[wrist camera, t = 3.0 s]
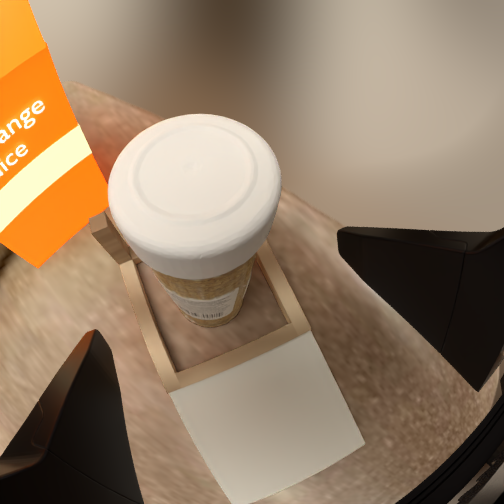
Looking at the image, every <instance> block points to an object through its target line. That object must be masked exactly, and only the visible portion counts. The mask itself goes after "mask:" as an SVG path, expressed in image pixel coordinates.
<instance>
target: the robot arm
mask: <svg viewBox="0 0 504 504" xmlns="http://www.w3.org/2000/svg"><path fill="white" fill-rule="evenodd" d="M337 241H338V251H339V254H340V255H341V257H342V258H343V259H344V260H345V261H346V262H347V263H348V264H349V266H350V267H351V268H352V269H353V270H354V271H355V272H356V273H357V274H358V275H359V277H360V278H361V279H362V280H363V281H364V282H365V283H366V284H367V285H368V286H369V287H371V288H372V289H373V290H374V291H375V292H376V293H377V294H378V295H379V296H380V297H382V298H383V299H384V300H385V301H386V302H387V303H388V304H389V305H390V306H391V307H392V308H393V309H394V310H396V311H397V312H398V313H399V314H400V315H401V316H402V317H403V318H404V319H405V320H406V321H407V322H408V323H409V324H410V325H411V326H412V327H413V328H415V329H416V330H417V331H418V332H419V333H420V334H421V335H422V336H423V337H424V338H425V339H426V340H427V341H428V342H429V343H430V344H431V345H432V346H433V347H434V348H435V349H436V350H437V351H438V352H439V353H441V355H442V356H443V357H444V358H445V359H446V360H447V361H448V362H449V363H450V364H451V365H452V366H453V367H454V368H455V369H456V371H457V372H458V373H459V374H460V375H461V376H462V377H463V378H464V379H465V380H466V381H467V382H468V383H469V384H470V385H471V386H472V387H473V388H474V389H475V390H476V391H477V392H479V391H480V390H481V388H482V387H483V386H484V385H485V383H486V382H487V381H488V379H489V378H490V377H491V376H492V374H493V373H494V371H495V370H496V369H497V367H498V366H499V365H500V363H501V362H502V360H503V359H504V228H502V229H500V230H497V231H493V232H457V231H435V230H430V231H429V230H416V229H397V228H374V227H344V228H342V229H339V230H338V232H337ZM500 383H501V389H502V396H501V397H500V398H499V400H498V401H497V403H496V404H495V405H494V407H493V408H492V409H491V410H490V412H489V413H488V414H487V416H486V417H485V418H484V419H483V421H482V422H481V423H480V424H479V425H478V427H477V428H476V429H475V430H474V431H473V432H472V434H471V435H470V436H469V437H468V438H467V439H466V440H465V441H464V443H463V444H462V445H461V446H460V447H459V448H458V449H457V450H456V451H455V452H454V453H453V454H452V455H451V456H450V457H449V458H448V459H447V460H446V461H445V462H444V463H443V464H442V465H441V466H440V467H439V468H438V469H437V470H435V471H434V472H433V473H432V474H431V475H430V476H429V477H428V478H426V479H425V480H424V481H423V482H422V483H421V484H419V485H418V486H417V487H416V488H415V489H413V490H412V491H411V492H410V493H408V494H407V495H406V496H405V497H403V498H402V499H401V500H399V501H398V502H397V503H395V504H447V503H448V502H449V501H451V500H452V499H453V497H455V495H456V494H458V493H459V492H460V491H461V490H462V489H463V488H464V487H465V485H466V484H467V483H468V482H469V481H470V480H471V479H472V478H473V477H474V476H475V475H476V474H477V473H478V471H479V470H480V469H481V468H482V467H483V466H484V464H485V463H487V464H489V466H490V468H489V469H488V470H487V471H486V472H484V473H483V474H482V475H481V476H480V477H479V478H478V479H477V480H476V482H477V484H476V485H475V486H474V487H472V488H471V489H470V490H469V491H467V492H466V493H465V494H464V495H462V496H461V497H460V498H459V499H458V501H459V503H457V504H504V375H503V376H502V378H501V380H500ZM0 504H144V502H143V498H142V495H141V491H140V488H139V484H138V480H137V476H136V472H135V468H134V464H133V460H132V455H131V451H130V446H129V441H128V436H127V430H126V424H125V419H124V412H123V406H122V398H121V392H120V387H119V382H118V378H117V374H116V369H115V364H114V360H113V355H112V351H111V349H110V347H109V345H108V344H107V342H106V341H105V339H104V338H103V336H102V335H101V333H100V332H99V331H98V330H97V329H94V330H92V331H89V332H87V333H86V334H85V335H84V336H83V338H82V339H81V340H80V342H79V343H78V344H77V346H76V347H75V348H74V350H73V351H72V353H71V354H70V355H69V357H68V358H67V359H66V361H65V362H64V364H63V365H62V366H61V368H60V369H59V371H58V372H57V374H56V375H55V376H54V378H53V379H52V381H51V382H50V384H49V385H48V387H47V388H46V390H45V391H44V393H43V394H42V396H41V397H40V399H39V401H38V402H37V403H36V405H35V407H34V408H33V410H32V411H31V413H30V414H29V416H28V417H27V419H26V420H25V422H24V423H23V425H22V426H21V428H20V429H19V430H18V432H17V433H16V435H15V436H14V438H13V439H12V440H11V442H10V443H9V445H8V446H7V448H6V449H5V451H4V452H3V454H2V455H1V456H0Z"/></svg>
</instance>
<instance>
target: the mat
mask: <svg viewBox="0 0 504 504" xmlns="http://www.w3.org/2000/svg"><path fill="white" fill-rule="evenodd" d="M169 395H170V397H171V399H172V401H173V403H174V405H175V407H176V409H177V411H178V413H179V415H180V417H181V419H182V421H183V423H184V425H185V427H186V429H187V431H188V433H189V434H190V436H191V438H192V440H193V442H194V444H195V445H196V447H197V449H198V451H199V453H200V454H201V456H202V458H203V459H204V461H205V463H206V464H207V466H208V468H209V469H210V471H211V473H212V474H213V476H214V478H215V479H216V481H217V482H218V484H219V485H220V487H221V489H222V490H223V492H224V493H225V495H226V496H227V498H228V499H229V501H230V502H231V503H232V504H250V503H253V502H256V501H258V500H261V499H263V498H266V497H268V496H271V495H273V494H275V493H277V492H280V491H282V490H284V489H286V488H289V487H291V486H293V485H295V484H297V483H299V482H301V481H303V480H305V479H307V478H309V477H311V476H313V475H315V474H316V473H318V472H320V471H322V470H324V469H325V468H327V467H329V466H331V465H332V464H334V463H336V462H338V461H339V460H341V459H343V458H344V457H346V456H347V455H349V454H351V453H352V452H354V451H355V450H357V449H358V448H360V447H361V446H363V445H364V444H365V442H364V439H363V437H362V435H361V433H360V431H359V429H358V427H357V425H356V423H355V420H354V418H353V416H352V414H351V412H350V410H349V408H348V406H347V404H346V402H345V400H344V397H343V395H342V393H341V391H340V389H339V387H338V385H337V383H336V381H335V379H334V377H333V375H332V373H331V371H330V369H329V367H328V365H327V363H326V361H325V358H324V356H323V354H322V352H321V350H320V348H319V346H318V344H317V342H316V340H315V338H314V336H313V334H312V332H311V330H310V331H308V332H306V333H304V334H302V335H300V336H298V337H296V338H294V339H292V340H290V341H288V342H286V343H284V344H282V345H280V346H278V347H276V348H274V349H272V350H270V351H268V352H266V353H263V354H261V355H259V356H257V357H255V358H253V359H251V360H248V361H246V362H244V363H242V364H239V365H237V366H235V367H233V368H230V369H228V370H226V371H223V372H221V373H219V374H216V375H214V376H211V377H209V378H206V379H204V380H201V381H199V382H196V383H194V384H191V385H189V386H186V387H184V388H181V389H178V390H176V391H173V392H170V393H169Z"/></svg>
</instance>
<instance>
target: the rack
mask: <svg viewBox="0 0 504 504" xmlns="http://www.w3.org/2000/svg"><path fill="white" fill-rule="evenodd" d="M88 219H89V224H90V229H91V234H92V235H93V236H94V237H95V238H96V240H97V241H98V242H99V243H100V244H101V245H102V246H103V248H104V249H105V250H106V251H107V252H108V253H109V254H110V255H111V256H112V258H113V259H114V260H115V261H116V262H117V263H118V264H119V266H120V269H121V273H122V276H123V279H124V282H125V286H126V289H127V292H128V295H129V298H130V301H131V304H132V307H133V310H134V313H135V316H136V319H137V321H138V324H139V327H140V330H141V332H142V335H143V337H144V340H145V343H146V345H147V348H148V350H149V353H150V355H151V358H152V360H153V362H154V365H155V367H156V370H157V372H158V374H159V377H160V379H161V381H162V383H163V385H164V388H165V390H166V392H167V393H170V392H173V391H176V390H178V389H181V388H184V387H186V386H189V385H191V384H194V383H196V382H199V381H201V380H204V379H206V378H209V377H211V376H214V375H216V374H219V373H221V372H223V371H226V370H228V369H230V368H233V367H235V366H237V365H239V364H242V363H244V362H246V361H248V360H251V359H253V358H255V357H257V356H259V355H261V354H263V353H266V352H268V351H270V350H272V349H274V348H276V347H278V346H280V345H282V344H284V343H286V342H288V341H290V340H292V339H294V338H296V337H298V336H300V335H302V334H304V333H306V332H308V331H310V330H312V329H311V327H310V325H309V323H308V321H307V319H306V317H305V315H304V313H303V311H302V309H301V307H300V305H299V303H298V301H297V299H296V297H295V295H294V293H293V291H292V289H291V287H290V285H289V283H288V281H287V279H286V277H285V275H284V273H283V271H282V269H281V267H280V265H279V263H278V261H277V259H276V258H275V256H274V254H273V252H272V250H271V248H270V246H269V244H268V242H267V240H265V241H264V243H263V244H262V246H261V247H260V248H259V249H258V251H257V252H256V256H255V258H256V260H257V262H258V264H259V266H260V268H261V270H262V272H263V274H264V276H265V279H266V281H267V283H268V285H269V287H270V289H271V291H272V293H273V295H274V297H275V299H276V301H277V303H278V305H279V307H280V309H281V311H282V313H283V315H284V317H285V319H286V321H287V323H288V325H286V326H284V327H281V328H279V329H277V330H275V331H273V332H271V333H269V334H267V335H265V336H262V337H260V338H258V339H256V340H254V341H252V342H249V343H247V344H245V345H243V346H240V347H238V348H236V349H234V350H231V351H229V352H227V353H224V354H222V355H220V356H217V357H215V358H213V359H210V360H208V361H205V362H203V363H200V364H198V365H196V366H193V367H190V368H188V369H185V370H183V371H180V372H178V373H177V371H176V369H175V366H174V364H173V362H172V360H171V357H170V355H169V353H168V350H167V348H166V345H165V343H164V340H163V338H162V336H161V333H160V331H159V328H158V325H157V323H156V320H155V318H154V315H153V312H152V310H151V307H150V304H149V301H148V299H147V296H146V293H145V290H144V287H143V284H142V281H141V278H140V275H139V272H138V269H137V266H136V264H138V263H141V262H143V261H142V260H141V259H140V258H139V257H138V256H137V255H136V254H135V252H134V251H133V250H132V248H131V247H130V246H129V247H128V246H127V244H126V243H125V241H124V240H123V238H122V237H121V236H120V234H119V233H118V231H117V230H116V228H115V227H114V225H113V224H112V222H111V221H110V219H109V218H108V216H107V215H106V213H105V212H102V213H99V214H97V215H95V216H93V217H90V218H88Z"/></svg>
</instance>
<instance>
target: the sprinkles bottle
mask: <svg viewBox="0 0 504 504" xmlns="http://www.w3.org/2000/svg"><path fill="white" fill-rule="evenodd" d="M281 187H282V186H281V171H280V167H279V164H278V161H277V159H276V156H275V154H274V153H273V151H272V149H271V148H270V146H269V145H268V144H267V142H266V141H265V140H264V139H263V138H262V137H261V136H260V135H258V134H257V133H256V132H254V131H253V130H252V129H251V128H249V127H247V126H245V125H244V124H242V123H239V122H237V121H235V120H232V119H229V118H226V117H222V116H216V115H209V114H189V115H183V116H177V117H174V118H170V119H167V120H164V121H161V122H159V123H157V124H154V125H153V126H151V127H149V128H147V129H146V130H144V131H142V132H141V133H140V134H138V135H137V136H136V137H135V138H134V139H132V140H131V141H130V142H129V144H128V145H127V146H126V147H125V148H124V149H123V150H122V152H121V153H120V155H119V156H118V158H117V160H116V162H115V163H114V166H113V168H112V171H111V174H110V177H109V182H108V202H109V207H110V211H111V214H112V217H113V219H114V221H115V223H116V225H117V226H118V228H119V230H120V232H121V233H122V235H123V237H124V238H125V240H126V242H127V243H128V244H129V246H130V247H131V248H132V250H133V251H134V252H135V254H136V255H137V256H138V257H139V258H140V259H141V260H142V261H143V262H144V263H145V264H147V265H148V266H149V267H151V268H152V271H153V273H154V275H155V276H156V278H157V279H158V281H159V282H160V284H161V285H162V286H163V288H164V289H165V290H166V292H167V293H168V294H169V296H170V297H171V298H172V300H173V301H174V302H175V303H176V305H177V306H178V307H179V309H180V311H181V313H182V314H183V315H184V316H185V317H186V318H187V319H188V320H189V321H191V322H193V323H194V324H196V325H200V326H202V327H217V326H220V325H223V324H225V323H228V322H229V321H230V320H231V319H233V318H234V317H235V316H236V315H237V314H238V312H239V310H240V308H241V306H242V303H243V297H244V295H245V292H246V290H247V287H248V284H249V281H250V277H251V270H252V267H253V263H254V260H255V256H256V252H257V251H258V249H259V248H260V247H261V246H262V244H263V243H264V241H265V240H266V238H267V236H268V234H269V232H270V229H271V226H272V223H273V220H274V217H275V214H276V211H277V207H278V203H279V199H280V195H281Z"/></svg>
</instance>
